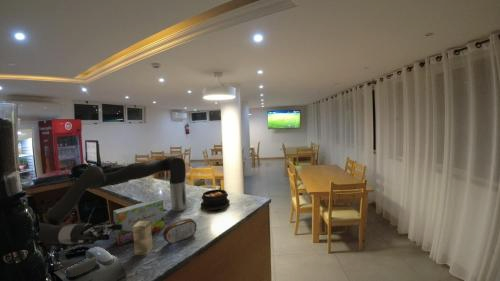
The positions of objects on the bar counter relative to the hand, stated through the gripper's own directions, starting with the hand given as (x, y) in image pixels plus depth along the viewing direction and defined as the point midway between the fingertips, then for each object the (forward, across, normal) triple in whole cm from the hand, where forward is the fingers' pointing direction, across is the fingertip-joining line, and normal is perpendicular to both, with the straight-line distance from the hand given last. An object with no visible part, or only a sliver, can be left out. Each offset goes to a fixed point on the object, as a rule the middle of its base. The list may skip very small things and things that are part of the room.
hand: (115, 231), depth 90 cm
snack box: (+2, -16, -10) cm, 18 cm away
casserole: (+33, -50, -9) cm, 61 cm away
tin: (+24, -9, -9) cm, 27 cm away
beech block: (+11, -1, -9) cm, 14 cm away
